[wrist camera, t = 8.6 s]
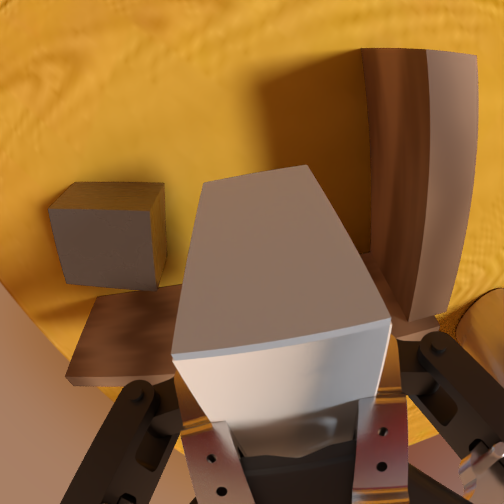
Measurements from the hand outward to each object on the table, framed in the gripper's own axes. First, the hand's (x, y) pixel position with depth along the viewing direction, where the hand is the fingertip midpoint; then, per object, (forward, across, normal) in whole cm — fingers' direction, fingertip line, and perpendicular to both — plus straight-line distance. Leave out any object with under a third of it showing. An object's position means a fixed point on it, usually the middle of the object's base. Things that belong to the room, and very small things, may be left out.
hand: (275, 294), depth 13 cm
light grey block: (+2, 0, 0) cm, 2 cm away
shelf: (+11, +3, 0) cm, 11 cm away
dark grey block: (+11, +10, 0) cm, 15 cm away
